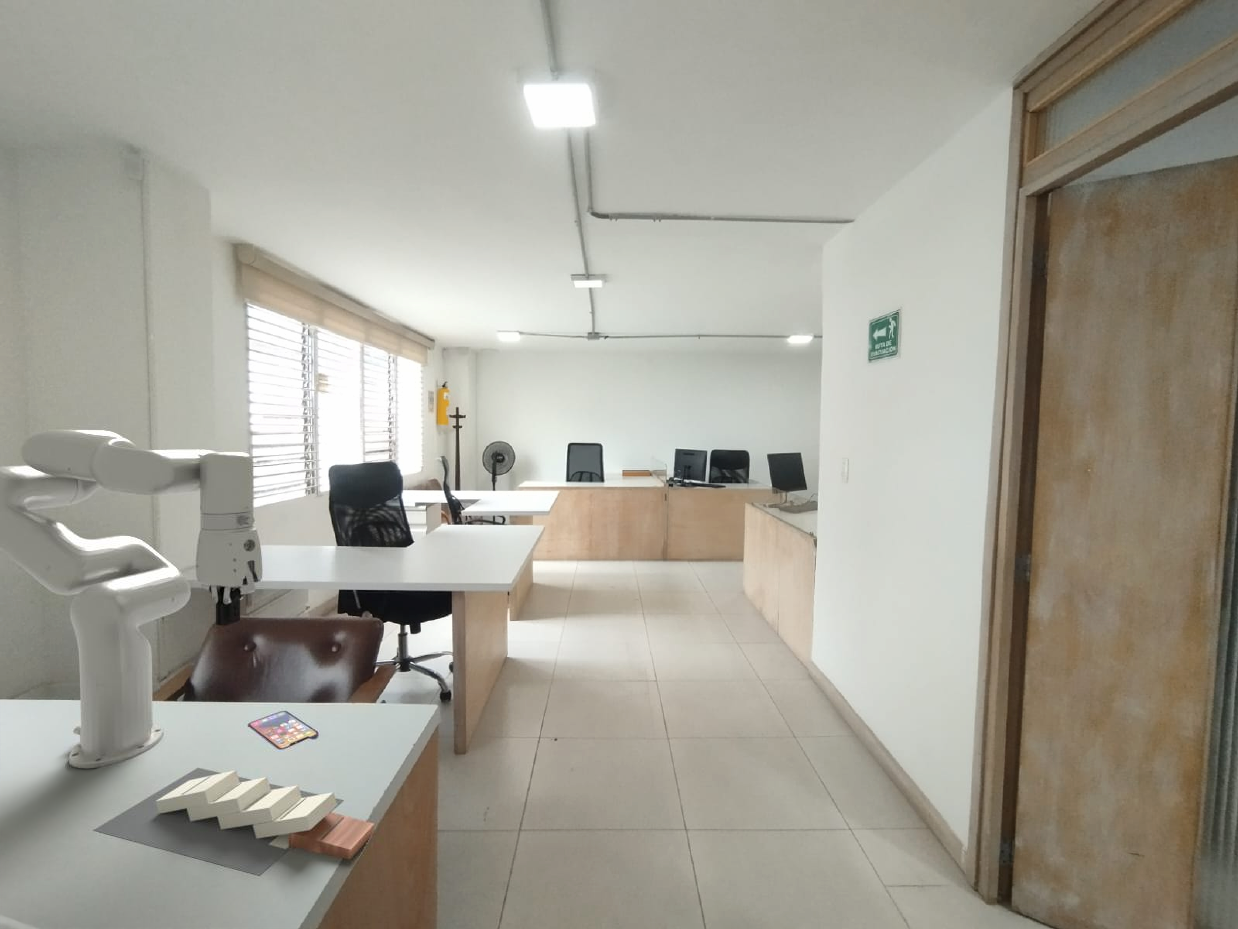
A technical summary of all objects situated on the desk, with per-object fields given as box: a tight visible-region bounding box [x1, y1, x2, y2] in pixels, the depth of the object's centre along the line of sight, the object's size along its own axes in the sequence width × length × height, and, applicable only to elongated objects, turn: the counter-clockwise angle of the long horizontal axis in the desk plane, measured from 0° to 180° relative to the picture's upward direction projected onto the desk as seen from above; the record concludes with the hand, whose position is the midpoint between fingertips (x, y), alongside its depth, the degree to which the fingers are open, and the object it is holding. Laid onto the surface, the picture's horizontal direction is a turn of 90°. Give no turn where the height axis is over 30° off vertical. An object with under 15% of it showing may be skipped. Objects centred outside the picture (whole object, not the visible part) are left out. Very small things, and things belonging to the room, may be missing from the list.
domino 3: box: [217, 785, 302, 829], centre depth 78 cm, size 2×5×10 cm
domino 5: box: [289, 811, 375, 860], centre depth 75 cm, size 2×5×10 cm
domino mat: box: [92, 767, 345, 876], centre depth 80 cm, size 30×15×1 cm, turn 77°
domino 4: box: [253, 792, 338, 838], centre depth 76 cm, size 2×5×10 cm
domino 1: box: [156, 769, 239, 814], centre depth 81 cm, size 2×5×10 cm
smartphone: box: [247, 710, 319, 750], centre depth 103 cm, size 1×7×15 cm
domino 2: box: [187, 776, 270, 821], centre depth 79 cm, size 2×5×10 cm
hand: (228, 623), depth 93 cm, fingers closed
